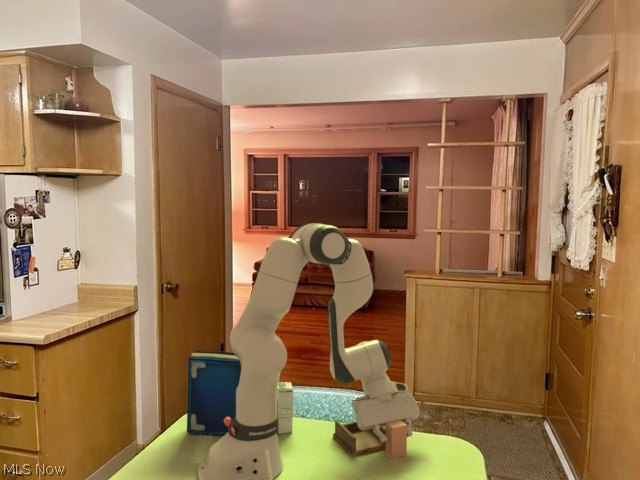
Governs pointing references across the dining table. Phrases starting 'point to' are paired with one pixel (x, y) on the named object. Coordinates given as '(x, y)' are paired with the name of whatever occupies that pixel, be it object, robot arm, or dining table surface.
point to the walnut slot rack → (357, 438)
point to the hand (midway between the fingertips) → (397, 439)
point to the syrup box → (285, 406)
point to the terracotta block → (396, 439)
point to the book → (211, 391)
